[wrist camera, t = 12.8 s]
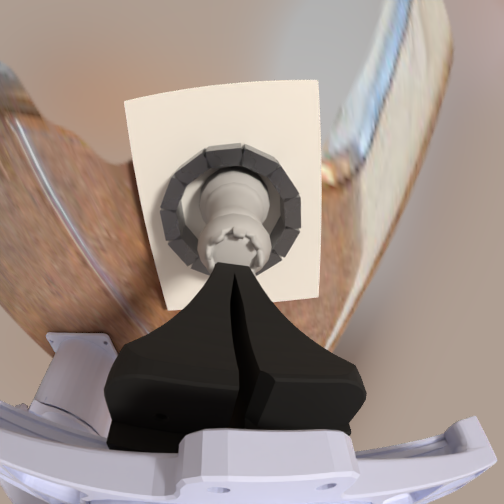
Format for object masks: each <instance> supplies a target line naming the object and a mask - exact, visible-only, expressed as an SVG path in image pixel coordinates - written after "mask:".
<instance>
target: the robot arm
mask: <svg viewBox="0 0 504 504" xmlns="http://www.w3.org/2000/svg"><path fill="white" fill-rule="evenodd" d="M46 338H47V340H48V341H49V343H50V345H51V347H52V348H53V350H54V352H55V353H56V354H55V355H54V357H53V359H52V361H51V363H50V365H49V368H48V369H47V372H46V374H45V376H44V378H43V380H42V382H41V384H40V386H39V388H38V391H37V393H36V395H35V397H34V400H33V402H32V403H31V405H30V407H29V408H28V406H27V405H26V404H24V403H22V404H21V405H20V404H19V405H16V406H15V407H14V406H12V405H10V404H7V403H5V402H3V401H1V400H0V485H1V487H2V488H3V490H4V491H5V493H6V494H7V496H8V497H9V499H10V500H11V502H12V503H13V504H427V503H429V502H431V501H434V500H436V499H439V498H441V497H443V496H446V495H448V494H450V493H452V492H454V491H457V490H458V489H460V488H461V487H463V486H464V485H466V484H468V483H469V482H470V481H471V480H473V479H475V478H476V477H477V476H479V475H480V474H482V473H483V472H484V471H486V470H487V469H488V468H490V467H491V466H492V465H494V464H495V463H496V462H497V458H496V456H495V454H494V451H493V449H492V447H491V445H490V443H489V441H488V439H487V437H486V435H485V433H484V431H483V429H482V427H481V425H480V423H479V421H478V419H477V417H476V416H472V417H469V418H465V419H462V420H459V421H457V422H455V423H454V424H452V425H451V426H450V427H449V428H448V429H447V430H446V431H445V432H444V434H440V435H436V436H433V437H429V438H425V439H421V440H417V441H412V442H408V443H403V444H398V445H393V446H388V447H382V448H377V449H370V450H364V451H357V452H354V449H353V445H352V441H351V438H350V437H349V435H350V434H351V429H350V426H349V422H350V421H351V420H352V418H353V417H354V416H355V415H356V413H357V412H358V411H359V409H360V408H361V406H362V405H363V403H364V402H365V400H366V390H365V387H364V385H363V381H362V379H361V376H360V374H359V372H358V370H357V368H356V366H355V365H354V364H352V363H350V362H348V361H346V360H344V359H342V358H340V357H338V356H336V355H334V354H333V353H331V352H329V351H328V350H326V349H325V348H323V347H321V346H320V345H318V344H317V343H316V342H314V341H313V340H311V339H310V338H309V337H307V336H306V335H305V334H304V333H302V332H301V331H300V330H299V329H298V328H297V327H295V326H294V325H293V324H292V323H291V322H290V321H289V320H288V319H287V318H286V317H285V316H284V315H283V314H282V313H281V312H280V311H279V309H278V308H277V307H276V306H275V305H274V303H273V302H272V301H271V300H270V298H269V297H268V295H267V294H266V293H265V291H264V290H263V288H262V287H261V285H260V284H259V282H258V280H257V279H256V277H255V275H254V274H253V272H252V270H251V269H250V267H249V266H244V265H236V264H229V263H222V262H217V263H216V264H215V266H214V269H213V271H212V273H211V275H210V276H209V278H208V280H207V281H206V283H205V284H204V285H203V287H202V288H201V290H200V291H199V292H198V293H197V294H196V296H195V297H194V298H193V299H192V300H191V301H190V302H189V304H188V305H187V306H186V307H184V308H183V309H182V310H181V311H180V312H179V313H178V314H177V315H175V316H174V317H173V318H172V319H171V320H169V321H168V322H167V323H165V324H164V325H162V326H161V327H159V328H157V329H156V330H154V331H153V332H151V333H149V334H148V335H146V336H144V337H141V338H139V339H137V340H135V341H132V342H130V343H128V344H125V345H124V347H123V348H122V349H121V351H120V353H119V354H117V352H116V350H115V348H114V346H113V344H112V341H111V339H110V337H109V336H108V335H107V334H105V333H55V332H48V333H47V334H46ZM105 341H106V342H105ZM27 408H28V409H27Z"/></svg>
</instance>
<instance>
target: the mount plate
mask: <svg viewBox="0 0 504 504" xmlns="http://www.w3.org/2000/svg"><path fill="white" fill-rule="evenodd" d="M124 106H125V113H126V121H127V128H128V134H129V141H130V147H131V153H132V159H133V165H134V170H135V176H136V181H137V186H138V191H139V196H140V201H141V206H142V211H143V215H144V220H145V224H146V228H147V233H148V237H149V241H150V245H151V249H152V253H153V257H154V261H155V265H156V269H157V273H158V277H159V280H160V284H161V288H162V291H163V295H164V298H165V302H166V305H167V309H168V310H182V309H183V308H184V307H186V306H187V305H188V304H189V302H190V301H191V300H192V299H193V298H194V297H195V296H196V294H197V293H198V292H199V291H200V290H201V288H202V287H203V285H204V284H205V283H206V281H207V280H208V278H209V275H206V274H204V273H201V272H198V271H196V270H193V269H191V265H192V264H191V265H189V266H187V265H186V264H185V263H184V262H183V261H182V260H181V259H180V258H179V256H178V255H177V254H176V253H175V252H174V251H173V250H172V249H171V248H170V246H169V245H168V242H169V241H166V239H165V234H164V230H163V225H162V220H161V215H160V210H161V208H160V206H161V203H162V201H163V198H164V195H165V192H166V190H167V187H168V185H169V182H170V179H171V177H172V176H173V174H174V173H175V172H176V171H177V169H178V168H179V167H180V166H181V165H182V164H184V163H185V162H186V161H187V160H189V159H190V158H191V157H193V156H194V155H195V154H197V153H198V152H200V151H201V150H202V149H204V148H205V149H206V150H207V148H208V146H215V145H224V144H234V143H241V147H242V148H243V146H244V144H247V145H249V146H252V147H254V148H256V149H258V150H260V151H262V152H265V153H267V154H269V155H271V156H273V157H274V158H275V159H276V160H278V162H279V163H280V165H281V166H282V168H283V169H284V171H285V172H286V174H287V175H288V177H289V178H290V180H291V181H292V183H293V184H294V186H295V187H296V189H297V190H298V192H299V195H300V197H301V228H299V230H300V233H299V235H298V236H297V238H296V240H295V242H294V243H293V245H292V247H291V248H290V250H289V252H288V253H287V255H286V257H285V258H284V257H282V256H281V257H282V261H280V262H279V263H277V264H275V265H274V266H272V267H271V268H269V269H267V270H266V271H264V272H262V273H261V274H259V275H257V276H256V279H257V280H258V282H259V284H260V285H261V287H262V288H263V290H264V291H265V293H266V294H267V295H268V297H269V298H270V300H271V301H272V302H279V301H289V300H298V299H307V298H315V297H318V295H319V275H320V249H321V133H320V107H319V89H318V80H277V81H257V82H243V83H231V84H223V85H222V84H221V85H213V86H205V87H197V88H190V89H183V90H177V91H171V92H166V93H160V94H155V95H150V96H145V97H140V98H136V99H131V100H127V101H124ZM228 167H230V166H228ZM238 167H243V166H241V165H239V166H238ZM221 168H226V167H219V168H210V169H209V170H207V171H206V172H204V173H203V174H202V175H200V176H199V177H198V178H196V179H195V180H194V181H192V182H191V183H189V184H188V185H187V188H186V190H185V193H184V195H183V198H182V200H181V202H182V208H183V213H184V219H185V225H186V226H187V227H188V228H189V229H190V230H191V232H192V233H193V234H194V235H195V236H196V238H197V239H198V238H199V235H200V234H201V232H202V230H203V229H204V227H205V226H206V223H205V222H204V221H203V219H202V216H201V212H200V209H199V199H200V192H201V188H202V186H203V184H204V183H205V181H206V180H207V178H208V177H209V176H210V175H212V174H213V173H214V172H216V171H217V170H219V169H221ZM244 168H245V167H244ZM251 171H252V170H251ZM253 172H254V171H253ZM255 173H256V174H258V175H259V176H260V177H261V178H262V180H263V181H264V183H265V184H266V186H267V188H268V193H269V198H270V207H269V211H268V215H267V218H266V219H265V221H264V222H263V224H262V225H263V227H264V228H265V229H266V231H267V232H268V233H269V236H270V234H271V232H272V230H273V228H274V227H275V225H276V223H277V221H278V219H279V217H280V216H281V213H280V194H279V193H278V191H277V190H276V188H275V187H274V186H273V184H272V183H271V181H270V180H269V178H268V177H266V176H263V175H261V174H259V173H257V172H255Z"/></svg>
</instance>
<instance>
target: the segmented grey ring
mask: <svg viewBox="0 0 504 504" xmlns="http://www.w3.org/2000/svg"><path fill="white" fill-rule="evenodd" d="M239 165H241V166H243V167H245V168H248V169H250V170H252V171H254V172H257V173H259V174H261V175H263V176H266V177H268V178H269V180H270V181H271V183H272V184H273V186H274V187H275V188H276V190H277V191H278V193H279V194H280V213H281V216H280V217H279V219H278V221H277V223H276V225H275V227H274V228H273V230H272V232H271V234H270V241H271V246H272V248H271V252H270V256H269V260H268V261H267V262H266V264H265V265H264V266H263V269H261V270H260V271H258V272H257V273H256V276H257V275H259V274H261V273H262V272H264V271H266V270H267V269H269V268H271V267H272V266H274V265H275V264H277V263H279V262H280V261H282V257H284V258H285V257H286V255H287V253H288V252H289V250H290V248H291V247H292V245H293V243H294V242H295V240H296V238H297V236H298V235H299V233H300V230H299V228H301V197H300V195H299V192H298V190H297V189H296V187H295V186H294V184H293V183H292V181H291V180H290V178H289V177H288V175H287V174H286V172H285V171H284V169H283V168H282V166H281V165H280V163H279V162H278V160H276V159H275V158H274V157H273V156H271V155H269V154H267V153H265V152H262V151H260V150H258V149H256V148H254V147H252V146H249V145H247V144H244V146H243V148H242V147H241V143H234V144H224V145H215V146H208V148H207V150H206V149H205V148H204V149H202V150H201V151H200V152H198V153H197V154H195V155H194V156H193V157H191V158H190V159H189V160H187V161H186V162H185V163H184V164H182V165H181V166H180V167H179V168H178V169H177V171H176V172H175V173H174V174H173V176H172V177H171V179H170V182H169V185H168V187H167V190H166V192H165V195H164V198H163V201H162V203H161V206H160V208H161V210H160V215H161V220H162V225H163V230H164V234H165V239H166V241H169V242H168V245H169V246H170V248H171V249H172V250H173V251H174V252H175V253H176V254H177V255H178V256H179V258H180V259H181V260H182V261H183V262H184V263H185V264H186V265H187V266H189V265H191V264H192V265H191V269H193V270H196V271H198V272H201V273H204V274H206V275H209V276H210V275H211V274H210V273H209V272H208V271H207V268H206V267H205V266H204V264H203V263H202V262H201V260H200V257H199V254H198V251H197V246H198V239H197V238H196V236H195V235H194V234H193V233H192V232H191V230H190V229H189V228H188V227H187V226H186V225H185V219H184V213H183V208H182V202H181V200H182V198H183V195H184V193H185V190H186V188H187V185H188V184H189V183H191V182H192V181H194V180H195V179H196V178H198V177H199V176H200V175H202V174H203V173H204V172H206V171H207V170H209V169H210V168H219V167H228V166H239ZM281 256H282V257H281Z"/></svg>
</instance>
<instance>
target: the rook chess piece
mask: <svg viewBox="0 0 504 504" xmlns="http://www.w3.org/2000/svg"><path fill="white" fill-rule="evenodd" d="M269 207H270V198H269V193H268V188H267V186H266V184H265V183H264V181H263V180H262V178H261V177H260V176H259V175H258V174H256V173H255V172H253V171H251V170H250V169H248V168H244V167H238V166H230V167H226V168H221V169H219V170H217V171H216V172H214V173H213V174H212V175H210V176H209V177H208V178H207V180H206V181H205V183H204V184H203V186H202V188H201V192H200V199H199V209H200V212H201V216H202V219H203V221H204V222H205V223H206V226H205V227H204V229H203V230H202V232H201V234H200V235H199V238H198V246H197V251H198V254H199V257H200V260H201V262H202V263H203V264H204V266H205V267H206V268H207V271H208V272H209V273H210V274H211V273H212V271H213V269H214V266H215V264H216V263H217V262H222V263H229V264H236V265H244V266H249V267H250V269H251V270H252V272H253V274H254V275H255V277H256V273H257V272H258V271H260V270H261V269H263V266H264V265H265V264H266V262H267V261H268V260H269V256H270V252H271V248H272V246H271V241H270V236H269V233H268V232H267V231H266V229H265V228H264V227H263V225H262V224H263V222H264V221H265V219H266V218H267V215H268V211H269Z"/></svg>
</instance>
